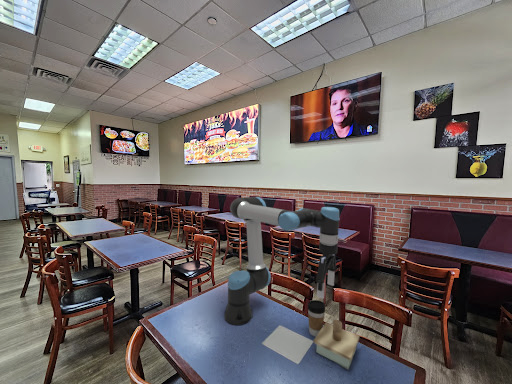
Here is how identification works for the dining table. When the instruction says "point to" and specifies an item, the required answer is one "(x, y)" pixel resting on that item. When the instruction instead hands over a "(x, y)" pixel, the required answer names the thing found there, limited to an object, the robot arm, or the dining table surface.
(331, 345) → the lid
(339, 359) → the dish
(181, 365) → the dining table surface
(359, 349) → the dining table surface
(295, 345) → the mat
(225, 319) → the robot arm
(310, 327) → the coffee cup
